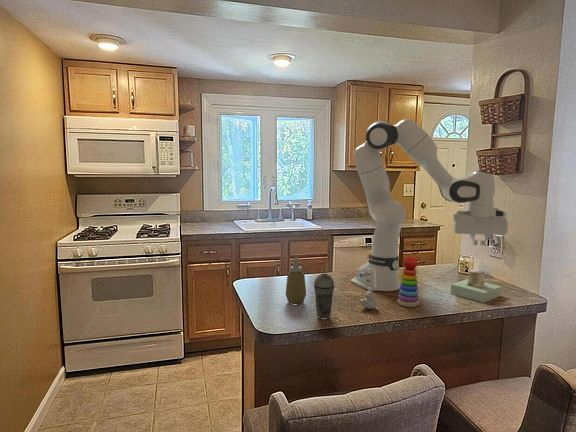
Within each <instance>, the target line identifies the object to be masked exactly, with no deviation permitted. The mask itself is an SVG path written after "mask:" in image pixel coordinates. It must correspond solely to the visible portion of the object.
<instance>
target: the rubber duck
mask: <svg viewBox="0 0 576 432" xmlns="http://www.w3.org/2000/svg"><path fill="white" fill-rule="evenodd" d="M375 298H376V294H374V292H373V291H371V290H367V291H366V293H365V298H361V299H360V306H361V307H364V308H365V309H368V310H374V309H376V308H377V305H378V301H377V300H376V299H375Z"/></svg>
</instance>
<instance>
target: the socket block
mask: <svg viewBox="0 0 576 432" xmlns="http://www.w3.org/2000/svg"><path fill="white" fill-rule="evenodd" d="M450 294H451V295H455V296H458V297H461V298H465V299H468V300H471V301H476V302H480V303H484V304H485V303H487V302H489V301H492V300H495V299H496V298H499V297H501V294H502V286H501V285H497V284H493V283H490V282H489V283H488V282H485V281H484V287H482V288H480V289H479V288H475V287H471V286H468V278H466V279H463V280H460V281H457V282H454V283H451V284H450Z"/></svg>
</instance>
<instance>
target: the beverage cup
mask: <svg viewBox="0 0 576 432" xmlns="http://www.w3.org/2000/svg"><path fill="white" fill-rule="evenodd" d="M329 263H330V262H329V261H327V262H326V269H325V273H322V274H319V275H317V276H316V278H315V280H314V283H313V288H314V294H315V308H316V309H315V310H316V316H318V317H320V318H329V317H330V318H331V313H332V305H333V304H332V302H333V297H334V295H333V294H334V289H335V281H334V279H333V277H332V276H331V275H330V274H328V272H329V271H328V269H329ZM330 318H329V319H330Z"/></svg>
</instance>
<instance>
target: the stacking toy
mask: <svg viewBox="0 0 576 432" xmlns="http://www.w3.org/2000/svg"><path fill="white" fill-rule="evenodd" d="M403 266H404V268H403V270H402V272H403V273H402V274H401V280H400V289H399V293H398V294H397V297H398V299H397V304H398V305H400V306H402V307H405V308H415V307H417V306H419V304H420V301H419V291H418V288H419V286H418V282H419V281H418V280H417V279H418V277H417V273H418V271H417V269H416V268H417V266H418V260H417V258H415V257H414V256H406V257H405V258H404V260H403Z"/></svg>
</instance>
